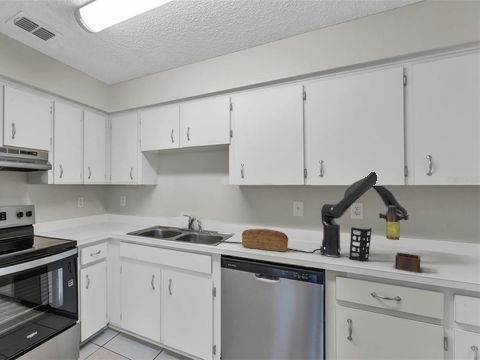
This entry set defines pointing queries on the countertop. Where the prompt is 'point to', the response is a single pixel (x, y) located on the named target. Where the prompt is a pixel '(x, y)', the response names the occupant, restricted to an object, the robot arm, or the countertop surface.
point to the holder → (362, 242)
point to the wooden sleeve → (407, 262)
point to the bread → (265, 239)
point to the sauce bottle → (392, 224)
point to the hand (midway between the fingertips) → (392, 217)
